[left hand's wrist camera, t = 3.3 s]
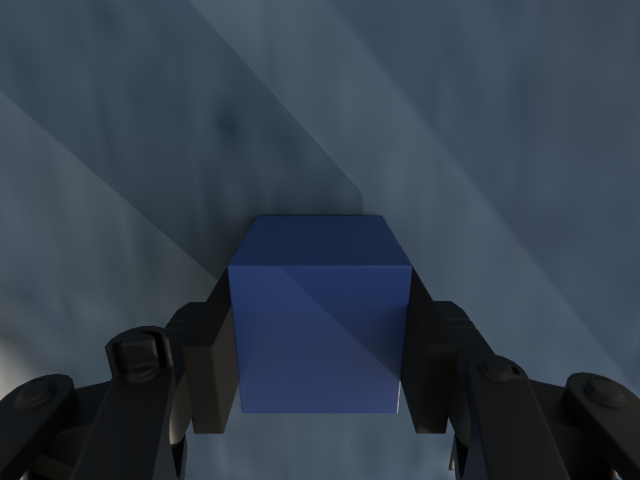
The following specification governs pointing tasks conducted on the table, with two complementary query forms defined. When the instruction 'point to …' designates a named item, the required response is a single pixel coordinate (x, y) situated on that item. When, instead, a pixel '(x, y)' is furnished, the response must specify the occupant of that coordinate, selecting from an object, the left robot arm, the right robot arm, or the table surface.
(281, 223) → the block
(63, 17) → the table surface
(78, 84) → the table surface
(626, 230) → the table surface
